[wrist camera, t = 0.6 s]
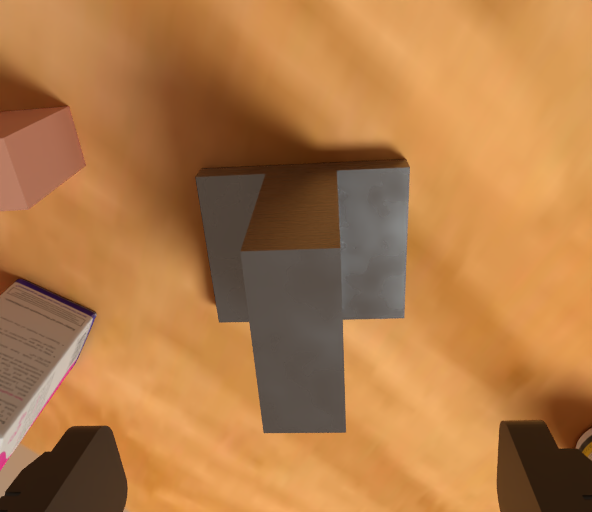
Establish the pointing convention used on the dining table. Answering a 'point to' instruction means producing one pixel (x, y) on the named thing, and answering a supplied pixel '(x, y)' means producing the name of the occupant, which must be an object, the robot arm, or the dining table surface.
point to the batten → (36, 154)
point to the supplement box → (34, 354)
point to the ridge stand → (305, 272)
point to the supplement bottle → (586, 444)
